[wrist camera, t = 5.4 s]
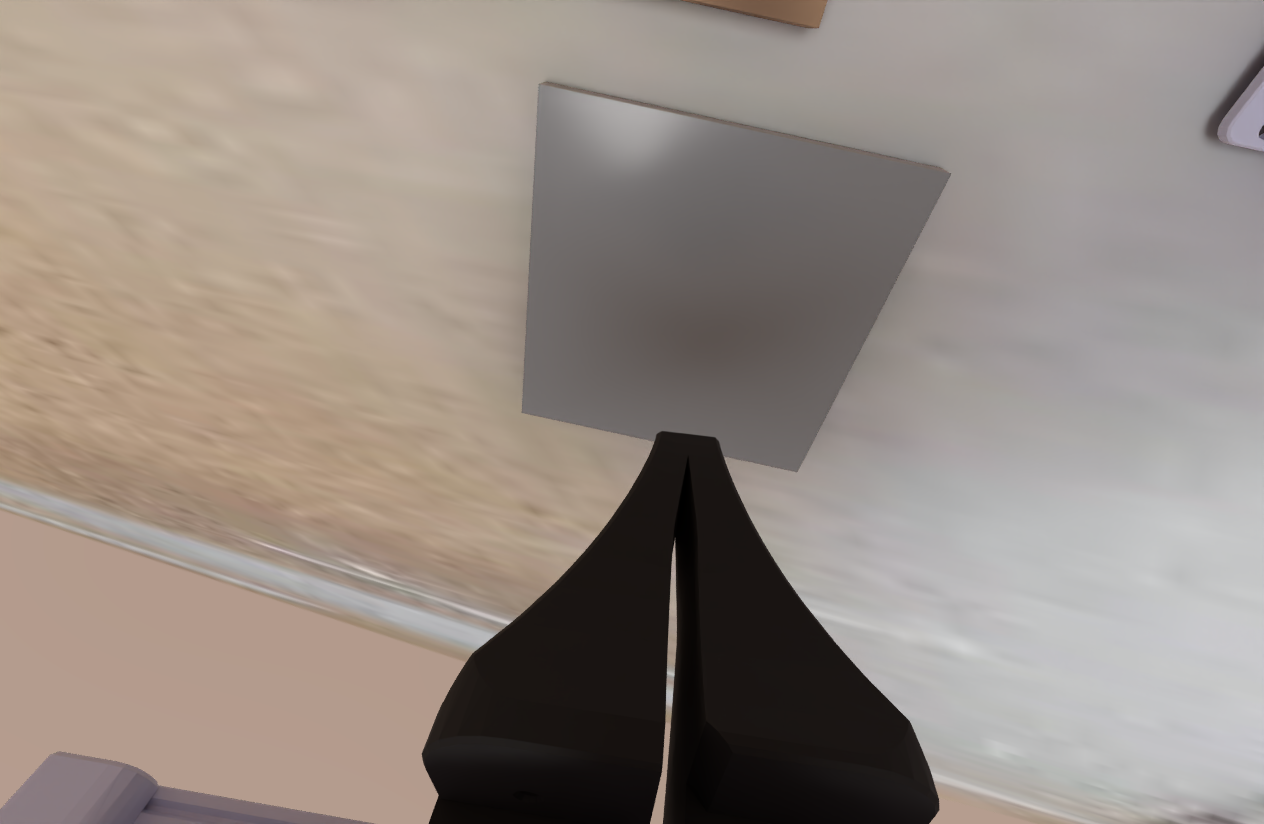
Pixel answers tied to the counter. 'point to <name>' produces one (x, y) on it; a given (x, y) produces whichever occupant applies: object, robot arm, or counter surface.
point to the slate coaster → (705, 271)
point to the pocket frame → (774, 9)
